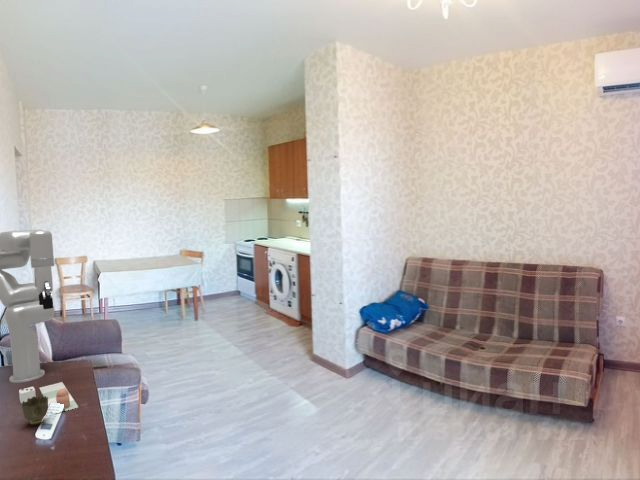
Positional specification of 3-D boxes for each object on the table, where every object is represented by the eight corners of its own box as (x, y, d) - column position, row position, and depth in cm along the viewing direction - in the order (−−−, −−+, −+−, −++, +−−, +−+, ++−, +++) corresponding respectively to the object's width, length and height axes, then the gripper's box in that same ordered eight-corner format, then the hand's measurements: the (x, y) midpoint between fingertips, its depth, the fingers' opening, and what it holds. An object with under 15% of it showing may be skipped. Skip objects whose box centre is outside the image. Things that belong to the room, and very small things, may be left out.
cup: (36, 429, 142) (34, 406, 141) (17, 428, 143) (15, 404, 142) (55, 418, 149) (53, 395, 148) (36, 417, 150) (34, 394, 150)
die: (19, 401, 163) (18, 388, 163) (34, 397, 166) (33, 385, 166) (21, 405, 160) (20, 392, 159) (36, 401, 163) (35, 389, 162)
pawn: (56, 406, 157) (54, 389, 156) (68, 402, 160) (66, 385, 159) (58, 410, 154) (56, 393, 153) (71, 406, 157) (69, 389, 156)
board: (39, 388, 174) (39, 387, 174) (62, 382, 179) (62, 382, 179) (52, 415, 151) (52, 414, 151) (78, 407, 156) (78, 407, 156)
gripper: (28, 262, 173) (31, 304, 174) (34, 266, 160) (38, 312, 161) (50, 260, 178) (53, 301, 179) (58, 263, 165) (61, 308, 166)
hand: (46, 306), depth 170 cm, fingers open, 9 cm apart
